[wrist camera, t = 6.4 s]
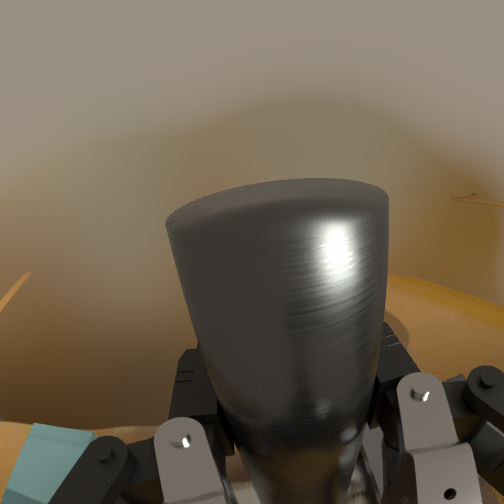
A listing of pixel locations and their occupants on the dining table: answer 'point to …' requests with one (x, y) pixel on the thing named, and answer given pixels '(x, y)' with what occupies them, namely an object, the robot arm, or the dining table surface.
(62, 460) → the socket block
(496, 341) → the dining table surface
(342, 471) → the slide bolt
